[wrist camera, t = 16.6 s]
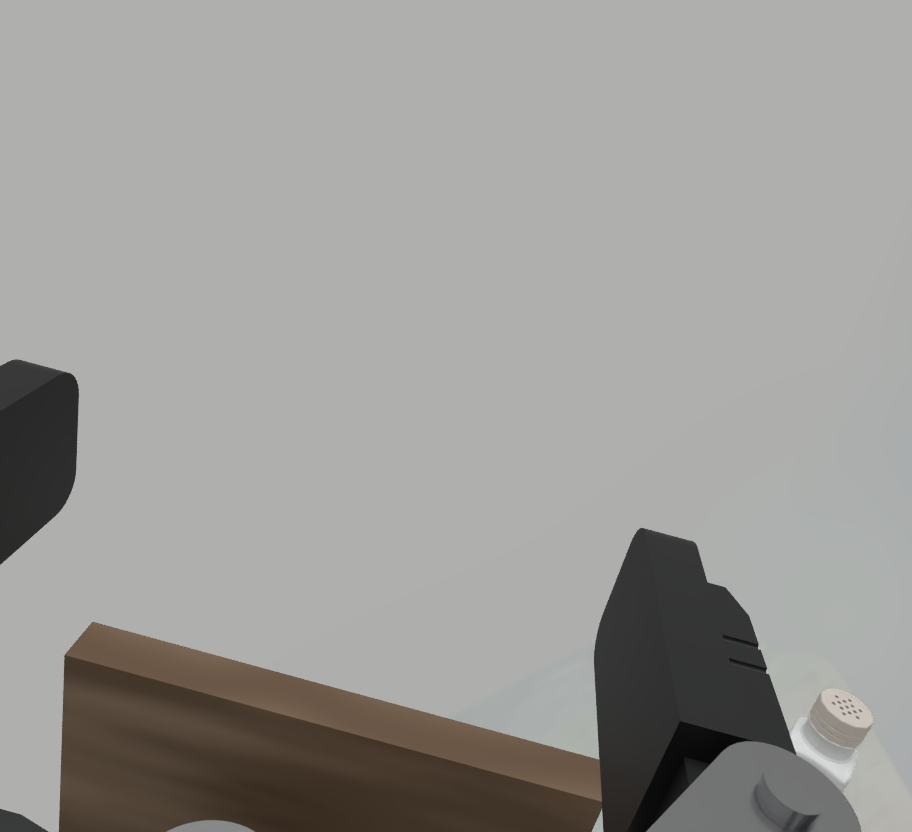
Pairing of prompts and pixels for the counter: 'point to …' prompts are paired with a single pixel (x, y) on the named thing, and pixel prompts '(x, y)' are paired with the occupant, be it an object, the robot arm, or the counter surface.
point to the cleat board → (288, 753)
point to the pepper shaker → (832, 734)
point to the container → (211, 827)
